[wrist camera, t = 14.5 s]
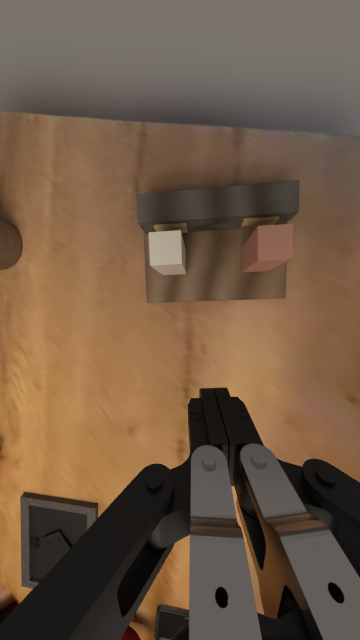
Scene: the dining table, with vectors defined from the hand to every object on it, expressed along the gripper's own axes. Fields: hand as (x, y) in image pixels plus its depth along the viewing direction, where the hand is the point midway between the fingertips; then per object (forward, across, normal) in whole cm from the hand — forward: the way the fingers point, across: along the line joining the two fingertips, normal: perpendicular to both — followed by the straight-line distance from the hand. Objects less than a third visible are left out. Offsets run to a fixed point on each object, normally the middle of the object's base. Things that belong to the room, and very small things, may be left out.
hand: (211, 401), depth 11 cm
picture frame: (+18, +28, +49) cm, 59 cm away
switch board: (+27, -4, -9) cm, 29 cm away
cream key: (+25, +2, -7) cm, 26 cm away
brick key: (+24, -11, -7) cm, 27 cm away
